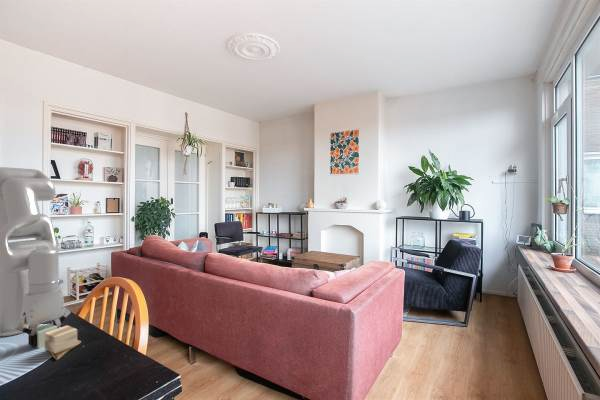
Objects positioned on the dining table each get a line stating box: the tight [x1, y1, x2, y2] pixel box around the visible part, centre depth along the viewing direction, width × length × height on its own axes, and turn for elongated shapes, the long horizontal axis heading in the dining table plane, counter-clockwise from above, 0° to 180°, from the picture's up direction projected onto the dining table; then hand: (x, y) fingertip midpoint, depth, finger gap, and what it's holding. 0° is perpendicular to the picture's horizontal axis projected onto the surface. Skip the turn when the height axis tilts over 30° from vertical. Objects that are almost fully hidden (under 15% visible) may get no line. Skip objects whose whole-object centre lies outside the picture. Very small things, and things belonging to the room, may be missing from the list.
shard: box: [50, 339, 82, 361], centre depth 91 cm, size 11×8×2 cm
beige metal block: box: [44, 325, 78, 354], centre depth 92 cm, size 6×6×5 cm
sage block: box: [36, 323, 57, 349], centre depth 96 cm, size 5×5×5 cm
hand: (44, 341), depth 96 cm, fingers closed on sage block, 5 cm apart
